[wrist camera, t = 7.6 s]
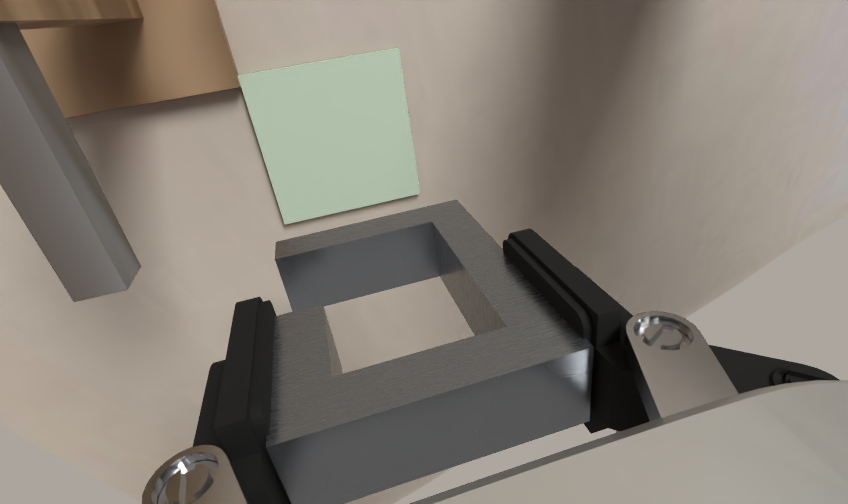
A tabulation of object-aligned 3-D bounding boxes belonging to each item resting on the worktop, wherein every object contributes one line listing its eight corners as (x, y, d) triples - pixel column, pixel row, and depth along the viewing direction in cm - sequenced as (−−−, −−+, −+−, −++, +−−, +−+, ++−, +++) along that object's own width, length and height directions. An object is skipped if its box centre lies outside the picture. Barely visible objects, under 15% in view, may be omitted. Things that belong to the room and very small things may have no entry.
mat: (397, 47, 27) (398, 48, 26) (418, 191, 31) (420, 193, 31) (238, 75, 25) (237, 76, 25) (284, 222, 30) (284, 224, 29)
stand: (185, -94, 21) (57, -226, 10) (263, 154, 27) (243, 261, 15) (-30, -69, 20) (-491, -190, 8) (101, 187, 26) (-57, 333, 14)
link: (456, 199, 15) (594, 347, 8) (461, 251, 16) (589, 421, 9) (275, 242, 14) (265, 447, 8) (293, 294, 15) (298, 518, 8)
